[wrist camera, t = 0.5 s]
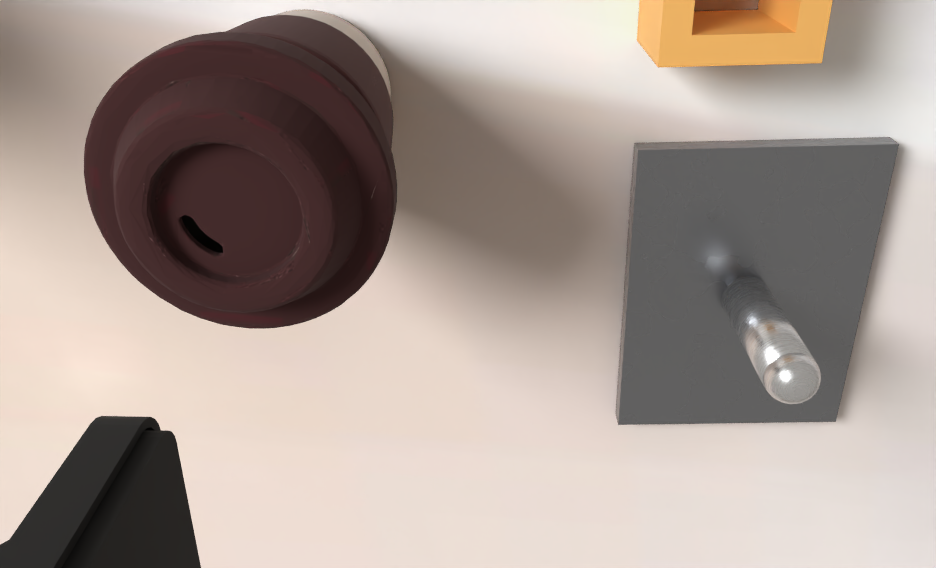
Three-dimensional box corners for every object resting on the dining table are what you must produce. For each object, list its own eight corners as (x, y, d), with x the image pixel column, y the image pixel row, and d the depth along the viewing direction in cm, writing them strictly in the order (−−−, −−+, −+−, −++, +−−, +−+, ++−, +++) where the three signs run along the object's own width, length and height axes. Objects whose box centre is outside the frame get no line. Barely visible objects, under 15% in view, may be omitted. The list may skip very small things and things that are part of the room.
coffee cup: (404, -37, 35) (358, 35, 22) (433, 178, 40) (410, 342, 27) (181, -11, 36) (8, 73, 23) (235, 197, 41) (117, 368, 28)
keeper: (634, 143, 39) (674, 221, 31) (889, 137, 39) (997, 215, 31) (615, 413, 47) (643, 533, 39) (828, 410, 46) (902, 530, 38)
